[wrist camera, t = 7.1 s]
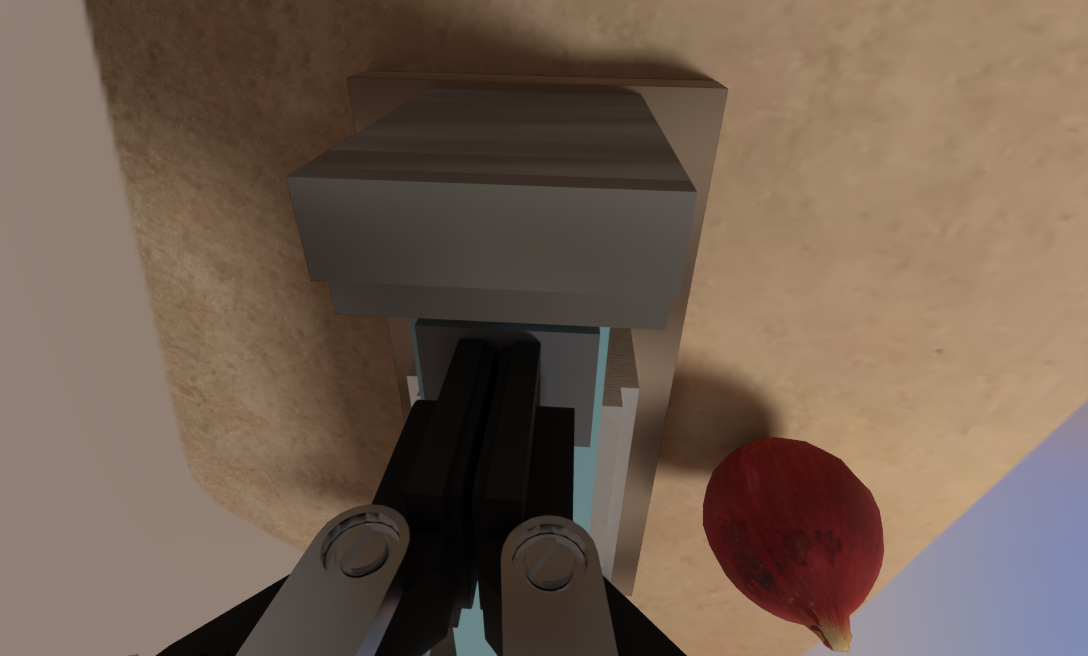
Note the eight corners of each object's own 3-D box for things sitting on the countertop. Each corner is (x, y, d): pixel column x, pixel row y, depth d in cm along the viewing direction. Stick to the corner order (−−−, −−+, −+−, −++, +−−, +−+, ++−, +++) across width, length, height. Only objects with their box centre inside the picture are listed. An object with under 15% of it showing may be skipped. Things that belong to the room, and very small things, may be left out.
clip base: (366, 70, 15) (124, 156, 7) (715, 80, 15) (872, 183, 7) (438, 554, 28) (379, 784, 20) (629, 567, 27) (648, 807, 19)
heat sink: (438, 308, 18) (397, 394, 14) (629, 317, 17) (642, 408, 14) (458, 505, 23) (434, 605, 19) (605, 514, 23) (609, 618, 19)
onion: (663, 469, 23) (696, 663, 16) (738, 375, 20) (817, 566, 13) (775, 509, 24) (850, 709, 17) (863, 424, 21) (994, 626, 14)
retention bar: (419, 271, 11) (400, 302, 10) (609, 280, 11) (612, 312, 10) (469, 681, 21) (463, 720, 20) (570, 689, 21) (570, 729, 19)
